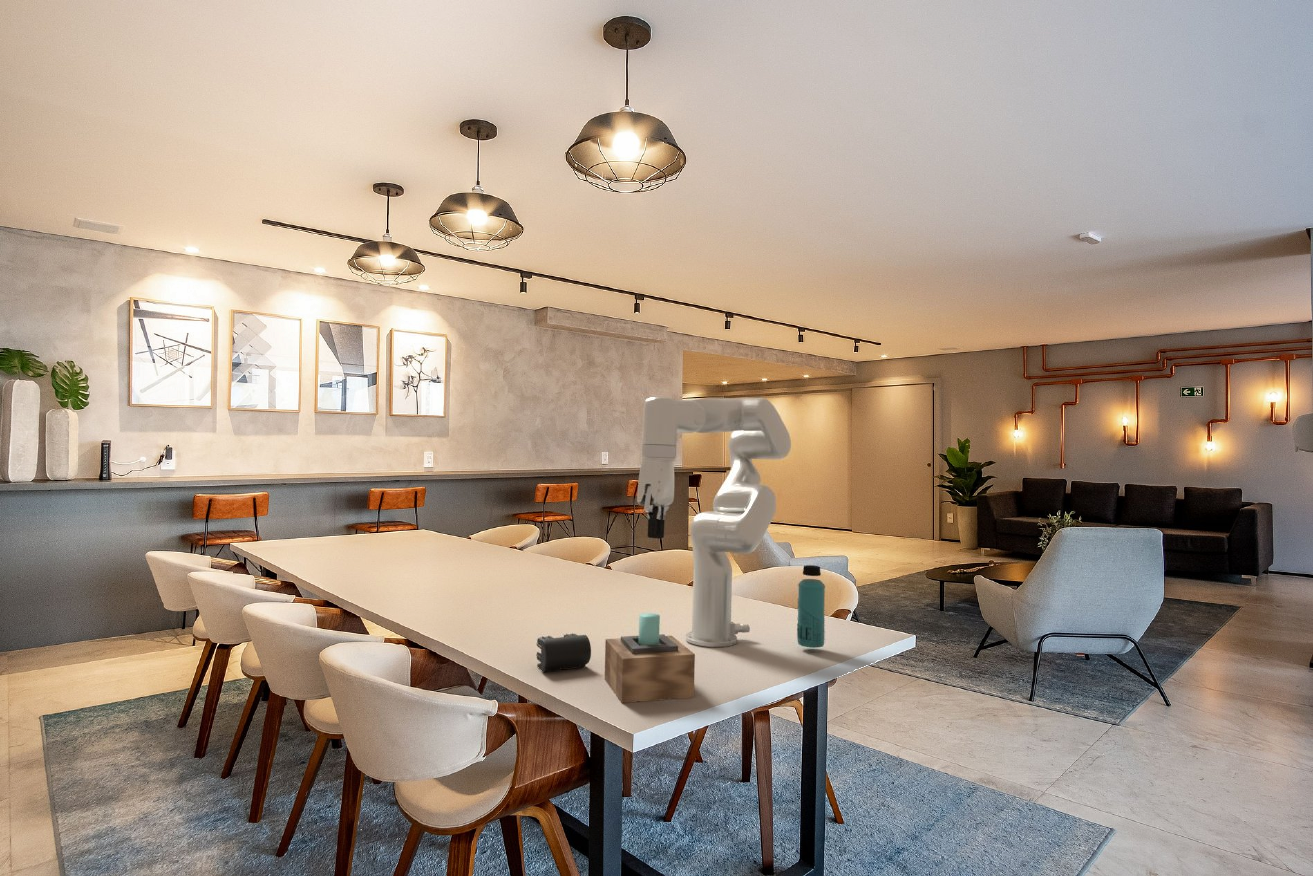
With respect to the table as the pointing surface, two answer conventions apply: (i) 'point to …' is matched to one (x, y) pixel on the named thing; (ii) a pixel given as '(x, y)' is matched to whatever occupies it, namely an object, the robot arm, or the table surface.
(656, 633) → the peg
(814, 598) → the beverage bottle
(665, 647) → the socket block
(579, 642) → the end cap
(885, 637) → the table surface
